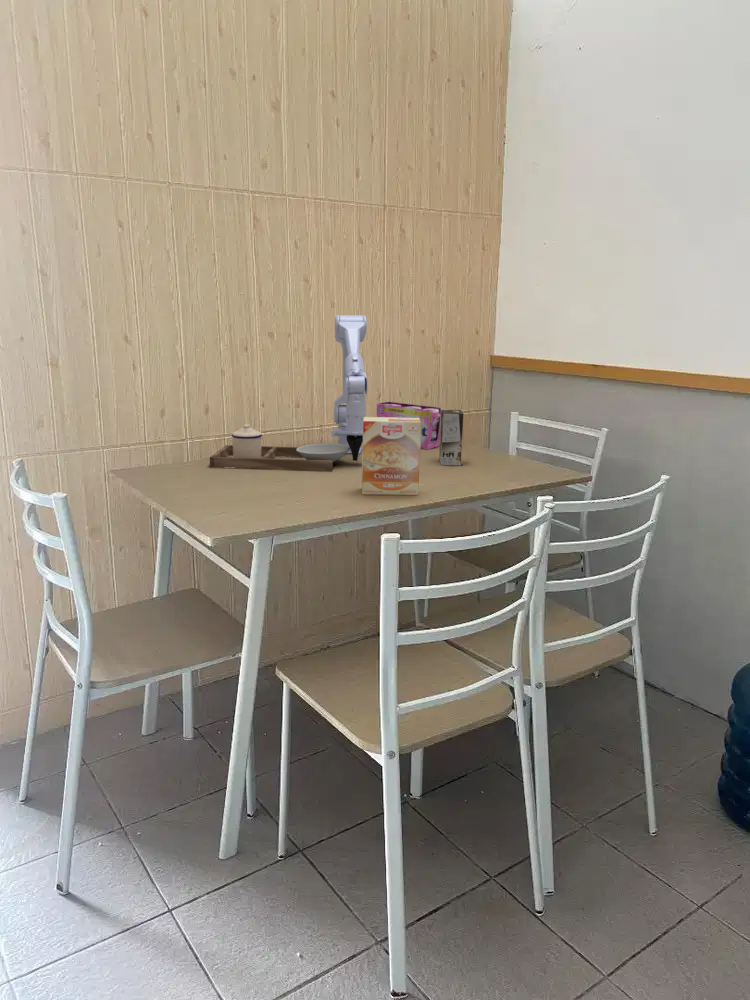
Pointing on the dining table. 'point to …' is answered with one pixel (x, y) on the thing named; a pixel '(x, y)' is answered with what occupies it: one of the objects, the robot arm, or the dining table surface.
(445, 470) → the dining table surface
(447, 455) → the coffee box
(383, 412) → the gum box
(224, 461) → the caddy
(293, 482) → the dining table surface
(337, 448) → the dish
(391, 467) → the coffeecake box
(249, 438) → the teacup with lid
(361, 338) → the robot arm
